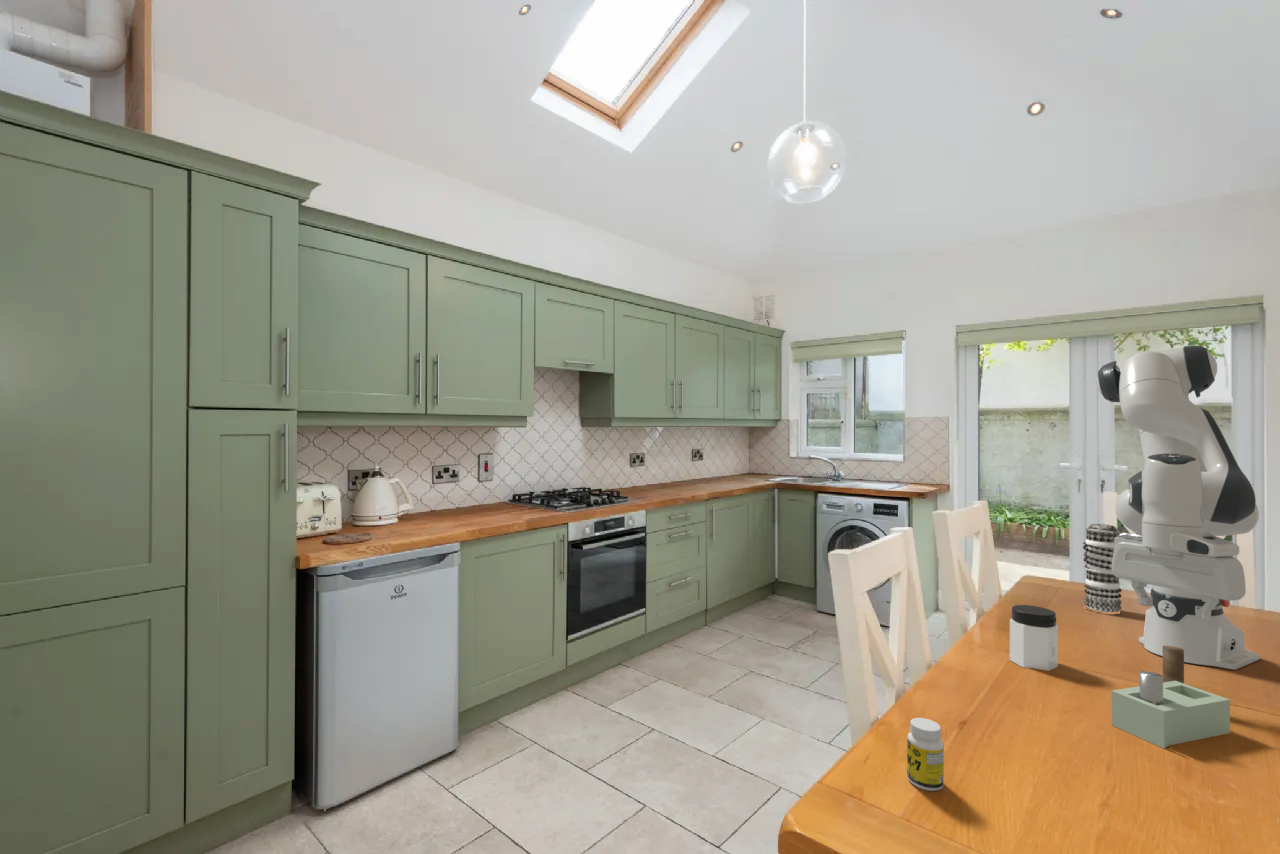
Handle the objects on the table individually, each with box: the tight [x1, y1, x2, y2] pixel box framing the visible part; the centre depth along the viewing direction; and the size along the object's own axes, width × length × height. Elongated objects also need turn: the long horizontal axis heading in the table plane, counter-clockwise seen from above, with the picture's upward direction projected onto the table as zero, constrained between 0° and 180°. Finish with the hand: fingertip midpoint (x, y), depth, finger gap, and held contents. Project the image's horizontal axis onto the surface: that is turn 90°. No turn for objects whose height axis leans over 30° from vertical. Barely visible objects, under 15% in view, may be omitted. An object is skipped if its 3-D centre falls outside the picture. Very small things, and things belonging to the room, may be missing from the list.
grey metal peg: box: [1139, 670, 1163, 706], centre depth 100 cm, size 3×3×10 cm
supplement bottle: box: [906, 717, 945, 792], centre depth 85 cm, size 5×5×8 cm
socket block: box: [1111, 681, 1231, 749], centre depth 101 cm, size 16×8×6 cm, turn 107°
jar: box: [1009, 604, 1059, 672], centre depth 130 cm, size 9×8×12 cm
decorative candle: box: [1082, 523, 1123, 612], centre depth 172 cm, size 9×9×25 cm
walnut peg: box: [1162, 646, 1185, 684], centre depth 111 cm, size 3×3×10 cm
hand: (1173, 612), depth 111 cm, fingers open, 8 cm apart
